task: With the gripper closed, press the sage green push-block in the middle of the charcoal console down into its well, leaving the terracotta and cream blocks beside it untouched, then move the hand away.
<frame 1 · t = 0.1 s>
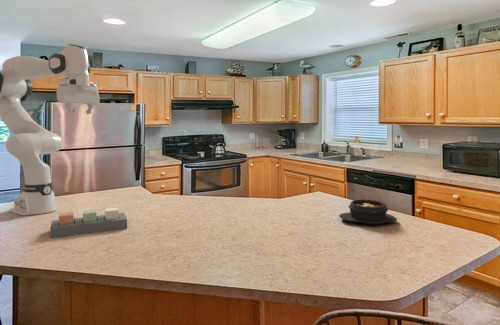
hand: (80, 113, 156), 48 cm above the counter, tool pointing down, fingers open, 8 cm apart
console: (90, 229, 145), on the counter
casserole: (367, 221, 157), on the counter
terracotta block: (66, 220, 141), point 5 cm above the counter, slide at 0.0 cm
sage green block: (89, 217, 144), point 5 cm above the counter, slide at 0.0 cm
cream block: (111, 215, 148), point 5 cm above the counter, slide at 0.0 cm
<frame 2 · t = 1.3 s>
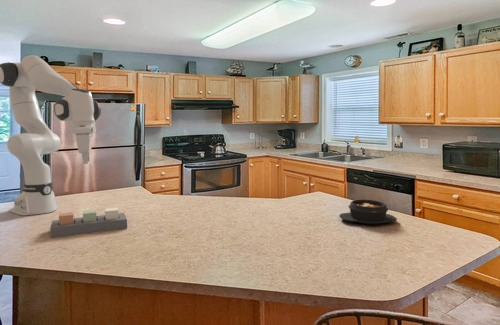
hand: (86, 162, 143), 28 cm above the counter, tool pointing down, fingers open, 8 cm apart
nothing on the counter moved.
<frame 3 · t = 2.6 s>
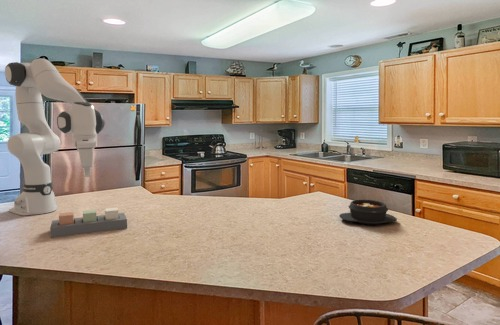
hand: (87, 176, 142), 22 cm above the counter, tool pointing down, fingers closed
nothing on the counter moved.
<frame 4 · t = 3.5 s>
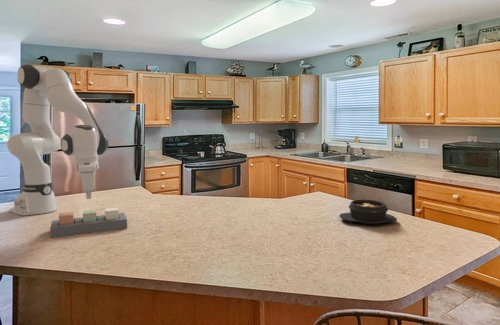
hand: (88, 198, 143), 13 cm above the counter, tool pointing down, fingers closed
nothing on the counter moved.
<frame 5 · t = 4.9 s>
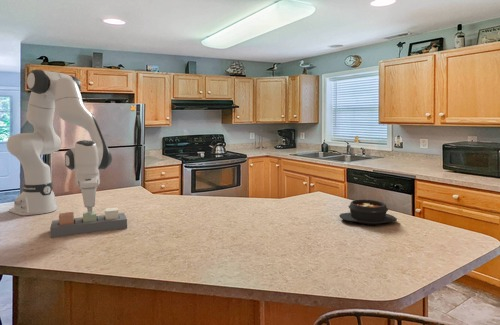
hand: (90, 213, 144), 7 cm above the counter, tool pointing down, fingers closed, pressing on sage green block
sage green block: (89, 219, 144), point 4 cm above the counter, slide at 0.7 cm, touching gripper
everything else where it was.
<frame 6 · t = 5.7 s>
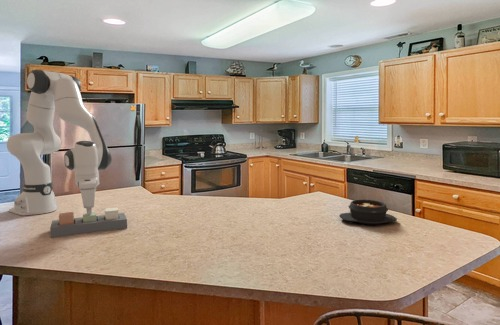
hand: (89, 213, 144), 7 cm above the counter, tool pointing down, fingers closed
sage green block: (89, 220, 144), point 4 cm above the counter, slide at 1.1 cm
everything else where it was.
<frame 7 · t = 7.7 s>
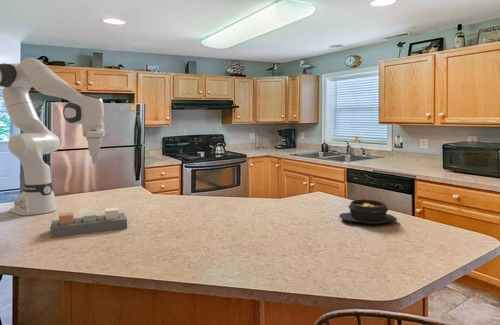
hand: (94, 163, 153), 26 cm above the counter, tool pointing down, fingers closed
nothing on the counter moved.
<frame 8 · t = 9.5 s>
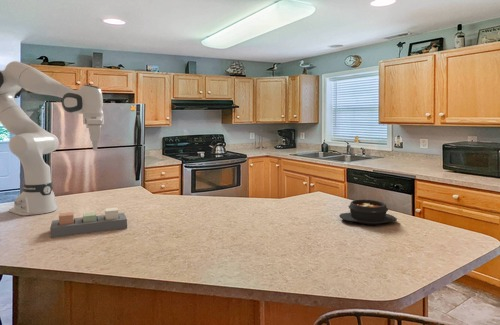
hand: (95, 150, 163), 31 cm above the counter, tool pointing down, fingers closed
nothing on the counter moved.
at the end: sage green block slide at 1.1 cm; terracotta block slide at 0.0 cm; cream block slide at 0.0 cm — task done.
